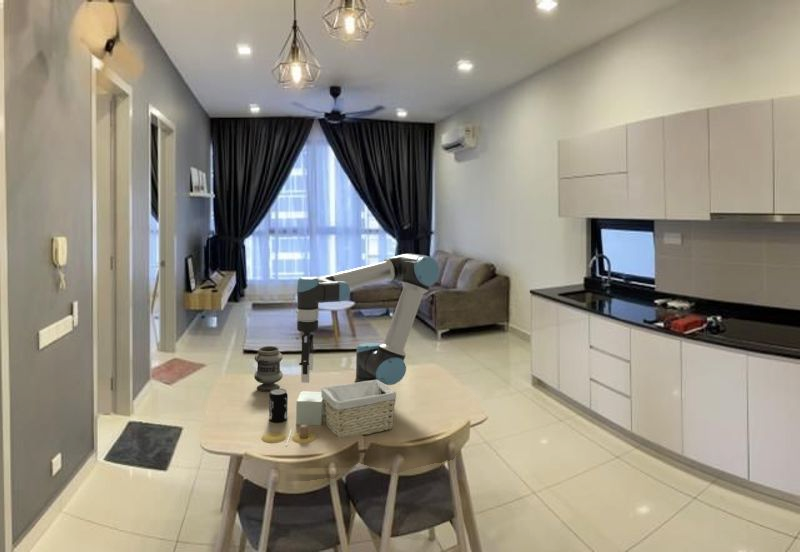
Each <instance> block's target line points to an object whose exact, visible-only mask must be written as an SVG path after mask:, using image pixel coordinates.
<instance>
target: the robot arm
mask: <svg viewBox="0 0 800 552" xmlns="http://www.w3.org/2000/svg"><path fill="white" fill-rule="evenodd" d="M440 272H441V270H440V266H439V264H438V261H436V259H435V258H433V257H431V256H428V255H425V254H419V253H418V254H416V253H412V252H411V253H409V252H407V253H402V254H399V255H396V256H395V255H394V256H391V257H388V258H384V259H383V261H381V262H378V263H373V264H369V265H365V266H361V267H356V268H352V269H348V270H344V271H339V272H337V273H332V274H329V275H324V276H321V275H320V276H319V275H318V276H317V275H315V276H301V277H299V279H298V280H297V286H296V287H297V288H296V292H297V293H296V296H297V299H296V300H297V303H296V305H297V306H296V307H297V310H295V314H297V315H296V316H297V317H296V318H297V319H298V320H297V321H296V324H297V325H296V328H297V329H296V330H297V331H298V332H302V333H303V334H302V336H301V357H300V358H301V359H300V362H299V363H298V366H300V367H301V369H300V370H301V371H300V372H301V378H300V380H301V382H300V383H302V384H303V383H304V384H305V383H307V384H309V383H310V371H314V354H315V352H316V350H315V348H314V336H315V335H314V332H316V331H318V330H319V320H318V319H319V303H320V304H321V303H335V302H336V303H337V302H338V303H341V302H345V301H348V300H349V299H350V295H351V289H355V288H359V287H362V286H367V285H369V284H374V283H378V282H381V281H385V280H388V281H396V280H401V284H402V287H403V288H402V291H401V293H400V295H399V298H398V301H397V305H396V307H395V310H394V313H393V316H392V319H391V321H390V324H389V327H388V331H387V333H386V335H385V338H384V341H383V342H363V343H360V344H358V345H357V346H356V351H355V354H356V363H355V364H356V365H355V367H356V368H355V380H354V382H353V383H357V382H363V381H372V380H379V381H380V382H382V383H384V384H385V385H387V386H392V385H396V384H397V383H399V382H401V381H402V380H403V378H405V375H406V372H407V371H406V370H407V365H406V363H405V358H406V355H407V354H406V352H405V350H404V349H405V347H406V345H407V342H408V338H409V336H410V333H411V330H412V327H413V324H414V321H415V318H416V316H417V314H418V310H419V308H420V304H421V301H422V299H423V295H425V294H426V293H429V290H430V287H431V286H433V285H434V284H436V283H437V281H438V280H439V277H440V274H441V273H440ZM382 394H386V393H385V392H383V391H382V390H381V395H382Z"/></svg>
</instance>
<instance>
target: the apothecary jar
mask: <svg viewBox="0 0 800 552" xmlns="http://www.w3.org/2000/svg"><path fill="white" fill-rule="evenodd" d="M254 360H255V362H256V363H257V369H256V372H255V373H254V375H253V376H254V380H255V381H256V382H257V383H260V384H259V385H257V387H256V390H258V391H259V392H263V393H264V392H265V393H270V392H271V390H273V389H281V386H280V385H279V384H277V383H279V382H280V381H281V380H282V379H283V377H284V375H283V371H282V370H281V367H280V364H281V361H282V360H283V354H282V353H281V352H280V351H279V347H278V346H272V345H265V346H262V347H259V349H258V351H257V353H256V354H255V355H254Z"/></svg>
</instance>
